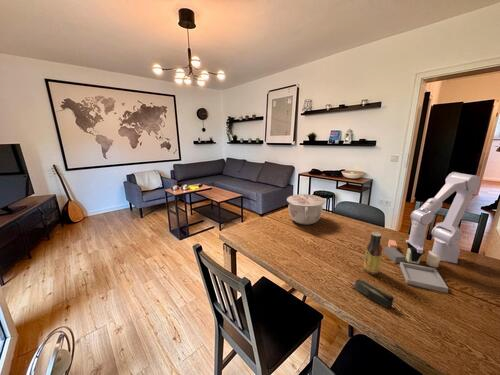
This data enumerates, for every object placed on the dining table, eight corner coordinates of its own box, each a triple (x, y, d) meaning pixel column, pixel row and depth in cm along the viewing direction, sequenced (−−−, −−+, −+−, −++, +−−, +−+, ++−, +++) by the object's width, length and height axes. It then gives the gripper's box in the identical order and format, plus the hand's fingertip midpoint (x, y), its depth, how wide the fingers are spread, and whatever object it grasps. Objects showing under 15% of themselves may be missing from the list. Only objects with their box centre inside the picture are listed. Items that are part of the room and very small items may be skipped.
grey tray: (434, 272, 96) (435, 268, 95) (447, 293, 84) (448, 288, 83) (399, 265, 101) (400, 261, 101) (406, 284, 89) (407, 279, 89)
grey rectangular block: (392, 252, 113) (393, 246, 112) (404, 263, 104) (405, 257, 103) (383, 252, 113) (384, 246, 112) (394, 263, 104) (396, 257, 103)
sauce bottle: (365, 265, 102) (369, 228, 97) (379, 270, 99) (385, 232, 93) (361, 272, 98) (367, 234, 92) (377, 277, 94) (383, 238, 89)
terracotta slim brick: (394, 246, 119) (395, 240, 118) (396, 251, 113) (397, 245, 112) (387, 245, 120) (388, 239, 119) (389, 250, 115) (390, 244, 114)
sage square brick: (416, 259, 106) (418, 249, 105) (419, 264, 102) (421, 254, 101) (405, 257, 108) (407, 247, 106) (408, 262, 104) (410, 252, 103)
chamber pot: (301, 211, 174) (301, 187, 168) (331, 221, 153) (333, 194, 148) (278, 220, 157) (278, 194, 151) (308, 233, 136) (310, 203, 131)
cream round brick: (436, 262, 103) (438, 254, 102) (439, 268, 99) (442, 259, 98) (424, 260, 105) (426, 252, 104) (427, 266, 101) (429, 257, 99)
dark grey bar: (394, 295, 78) (354, 274, 89) (392, 300, 76) (351, 278, 87) (392, 306, 79) (353, 284, 90) (389, 310, 77) (349, 287, 88)
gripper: (404, 226, 109) (399, 249, 113) (411, 239, 96) (406, 264, 100) (420, 228, 106) (415, 252, 110) (430, 242, 94) (425, 268, 97)
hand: (412, 258), depth 105 cm, fingers closed on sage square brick, 4 cm apart
